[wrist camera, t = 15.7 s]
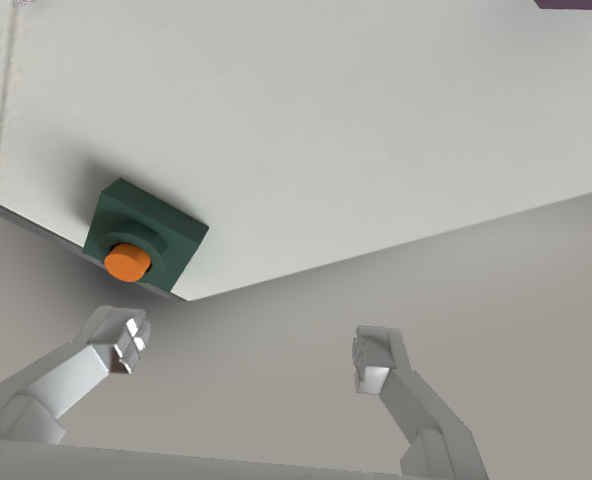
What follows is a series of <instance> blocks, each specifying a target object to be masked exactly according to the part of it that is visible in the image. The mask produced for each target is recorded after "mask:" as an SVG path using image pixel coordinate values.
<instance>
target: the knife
mask: <svg viewBox="0 0 592 480" xmlns="http://www.w3.org/2000/svg"><path fill="white" fill-rule="evenodd" d="M13 1H14V6H21V5H27V4H31V3H32V2H34V1H36V0H13Z"/></svg>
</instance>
